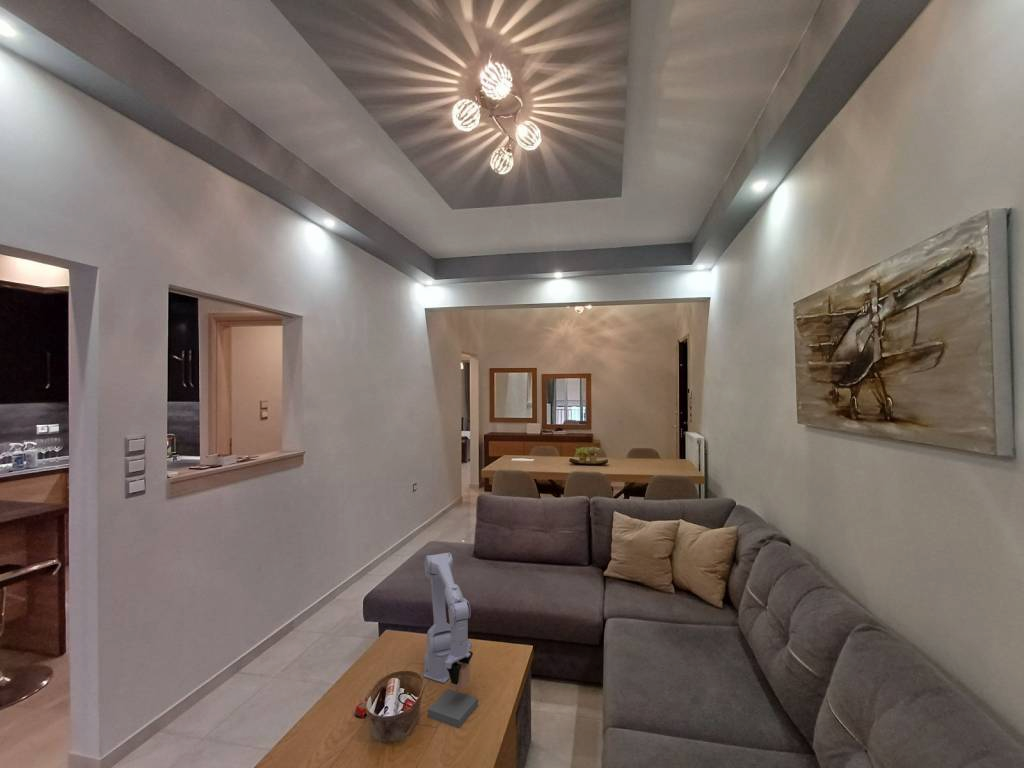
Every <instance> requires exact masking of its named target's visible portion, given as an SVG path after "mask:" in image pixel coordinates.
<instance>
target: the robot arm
mask: <svg viewBox="0 0 1024 768" xmlns="http://www.w3.org/2000/svg"><path fill="white" fill-rule="evenodd" d="M423 564H424V565H423V566H424V575H425V578H428V579H429V581H430V582H429V583H430V591H431V604H432V614H433V625H432V626H431V627H429V629H428V630H427V633H426V634H427V636H426V646H427V647H426V648H427V650H426V653H425V655H424V674H423V675H422V677H424V678H427V679H430V680H433V681H436V682H439V683H443V684H445V683H446V682H447V681H449V675H450V679H451V683H452V684H456V685H457V684H458V679H459V672H460V668H461V666H462V665H460V664H458V662H457V661H459V662H463V663H466V664H470V661H471V659H472V657H473V654H474V653H473V652H472V651H470V650H471V649H473V641H468V638H469V637H468V635H469V634H468V633H469V631H468V630H469V627H468V625H469V623H468V622H469V620H468V619H470V618H471V614H472V612H471V606H470V602H469V601H468V600H467V599H466V598H464V596H463V594H462V591H461V588H460V585H458V584H456V583H455V581H454V576H453V574H452V570H453V565H454V560H453V556H452V553H450V552H448V551H447V552H444V553H443V552H442V553H437V554H430V555H428V554H426V556H425V558H424V562H423ZM445 601H446V602H445ZM446 603H447V607H448V611H446V610H447V609H446ZM446 612H448V619H449V621H448V622H449V623H448V622H447V613H446Z"/></svg>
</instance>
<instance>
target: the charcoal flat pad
mask: <svg viewBox="0 0 1024 768" xmlns="http://www.w3.org/2000/svg"><path fill="white" fill-rule="evenodd" d="M478 706H479V698H478V697H475V696H473V695H469V694H465V693H463V692H459V691H456V690H453V689H451V688H447V689H446V690H445V691H444V692H443V693H442V694H441V695H440V696H439V697H438V698H437V699H436V700H435V701H434V702H433V703H432V704H431V705H430V706H429V707H428V709H427V718H430V719H432V720H435V721H438V722H441V723H443V724H446V725H449V726H452V727H454V728H457V729H460V728H461V727H462V726H463V724H464V723H465V722H466V721H467V720H468V718H469V717H470V716H471V715H472V713H474V711H475V710H476V709H477V707H478Z"/></svg>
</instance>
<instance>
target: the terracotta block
mask: <svg viewBox="0 0 1024 768" xmlns="http://www.w3.org/2000/svg"><path fill="white" fill-rule="evenodd" d="M457 662H458V664H460V665H462V666H461V668H460V672H459V679H458V684H457V685H456V684H452V683H451V679H450V675H449V679H448V687H450V688H453V689H457V690H460V691H463V690H464V689H465V687H467V685H468V684H469V683H470V675H471V674H470V673H471V672H470V668H471V667H470V663H469V664H466V663H463V662H459V661H457Z"/></svg>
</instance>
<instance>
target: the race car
mask: <svg viewBox="0 0 1024 768" xmlns="http://www.w3.org/2000/svg"><path fill="white" fill-rule="evenodd" d="M367 698H368V697H365V700H363V701H362V702H360V703H359V704H358V705H356V707H355V716H356V717H358V718H361V719H362V718H364V717H366V716H367V714H366V709H365V704H366V701H367ZM366 718H367V717H366ZM364 719H365V718H364Z"/></svg>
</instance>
